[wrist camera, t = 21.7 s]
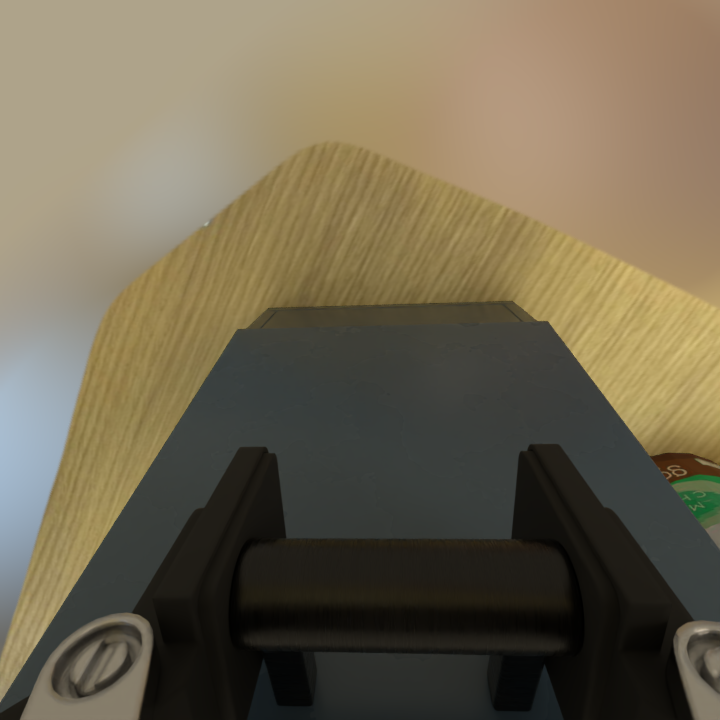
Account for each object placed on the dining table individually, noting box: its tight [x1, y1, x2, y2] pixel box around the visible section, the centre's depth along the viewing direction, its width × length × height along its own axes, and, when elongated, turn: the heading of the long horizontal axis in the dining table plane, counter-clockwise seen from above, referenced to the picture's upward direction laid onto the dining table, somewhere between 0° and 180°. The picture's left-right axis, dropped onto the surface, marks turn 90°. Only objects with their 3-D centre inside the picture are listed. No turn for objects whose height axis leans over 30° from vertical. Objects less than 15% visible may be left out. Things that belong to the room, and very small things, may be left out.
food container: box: [651, 453, 720, 549], centre depth 28 cm, size 12×6×10 cm, turn 141°
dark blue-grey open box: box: [247, 301, 538, 329], centre depth 29 cm, size 18×16×6 cm
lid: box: [0, 321, 720, 720], centre depth 14 cm, size 18×16×5 cm
